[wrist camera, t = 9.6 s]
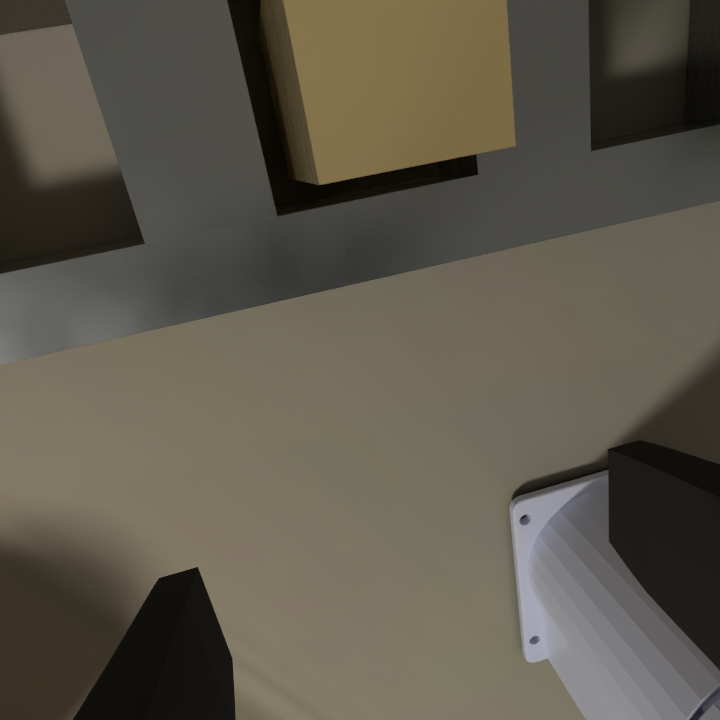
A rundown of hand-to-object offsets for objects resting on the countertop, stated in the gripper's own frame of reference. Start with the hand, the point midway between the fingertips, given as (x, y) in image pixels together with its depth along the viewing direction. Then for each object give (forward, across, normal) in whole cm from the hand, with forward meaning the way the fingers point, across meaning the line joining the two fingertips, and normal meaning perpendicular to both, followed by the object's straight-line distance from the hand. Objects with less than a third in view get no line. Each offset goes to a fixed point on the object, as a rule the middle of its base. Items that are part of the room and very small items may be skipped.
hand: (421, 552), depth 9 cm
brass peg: (+10, -2, -8) cm, 13 cm away
